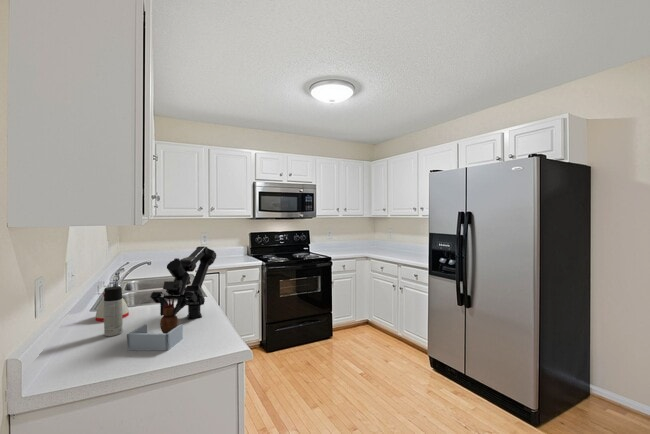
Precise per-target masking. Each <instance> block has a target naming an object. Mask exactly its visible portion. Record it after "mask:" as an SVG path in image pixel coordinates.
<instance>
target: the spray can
mask: <svg viewBox="0 0 650 434" xmlns="http://www.w3.org/2000/svg"><path fill="white" fill-rule="evenodd" d="M103 291H104V292H103V293H104V295H103V299H104V322H103V323H104V325H103V328H104V329H103V333H104V334H103V335H104V337H116V336H119V335H122V333H123V331H124V330H123V328H124V327H123V325H124V324H123V318H122V298H123V292H122V291H123V288H122V287H121V286H119V285H117V286H108V287H105V288H104V290H103Z"/></svg>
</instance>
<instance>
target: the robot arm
mask: <svg viewBox="0 0 650 434" xmlns="http://www.w3.org/2000/svg"><path fill="white" fill-rule="evenodd" d="M216 259H217V253H216V251H214V249H210V248H209V247H208V246H204V245H203V246H202V245H201V246H197V247H196V248H195V250H194V251H192V253H190V255H189V256H186V257H183V258H182V259H180V258H179V257H178V258H177V257H175V258H174V260H172V261H171V260H170V262H169V263H167V264H166V269H167V271H168V272H169V273H170V275H171V276H172V277H173V280H172V281H171V280H170V281H164V283H163V286H162V290H165V292H166V293H167V294H166V293H164V292H163V291H152V292H151V294H150V296H149V297H150V298H151V300H152V301H153V302H154V303H155V304H160V305H159V307H160V310H159V311H160V313H159V315H160V316H162V317H163V316H164V315H163V309H164V305H165V304H166V305H167V302H168V300H169V299H170V300H173V298H174V300H177V302H176V304H175V305H174V308H175V309H174V311H173V316H175V315H176V316H177V314H178V313H179V312H180V311H181V310H182V309H183V308H184V307H185V306H187V308H188V309H187V312H188V313H187V315H186V317H187V320H191V319H193V320H194V319H199V318H202V317H203V316H202V313H201V306H204V305H205V302H206V301H205V300H206V299H205V297H204V295H203V291H202V286H203V283H204V281H205V279H206V275H207V272H208V269H209V267H210V266H211V265H213V264H214V262H215V260H216ZM198 262H199V265H198V267H197V263H198ZM196 268H197V270H196V273H195V276H194V278H193V280H192V282H191V284H190V285H188V281H190V280H191V276H190V273H192V272H194V271H195V269H196Z"/></svg>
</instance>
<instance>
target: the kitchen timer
mask: <svg viewBox="0 0 650 434" xmlns="http://www.w3.org/2000/svg"><path fill="white" fill-rule="evenodd" d="M102 295H103V296H104V292H102ZM129 314H130V309H129V307H128V304H127V301H126V300H125V299H124V297H122V319H124V318H127V317H129ZM95 321H97V322H101V323H102V322H103V323H104V298H102V300H101V301H100V302H99V305H98V306H97V308H96V313H95Z"/></svg>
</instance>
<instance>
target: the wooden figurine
mask: <svg viewBox="0 0 650 434" xmlns="http://www.w3.org/2000/svg"><path fill="white" fill-rule="evenodd" d="M174 309H175V299H174V298H173V299H168V301H167V305H166V304H165V305H164V309H163V315H162V317H161V318H160V320H159V321H160V322H159V326H160V331H161V332H162V334H167V333H168V332H170V331H171V330H173V329H174V328H176V327H177V326H178V325H179V318H178V316H177V314H176V315H175V316H173V311H174Z"/></svg>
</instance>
